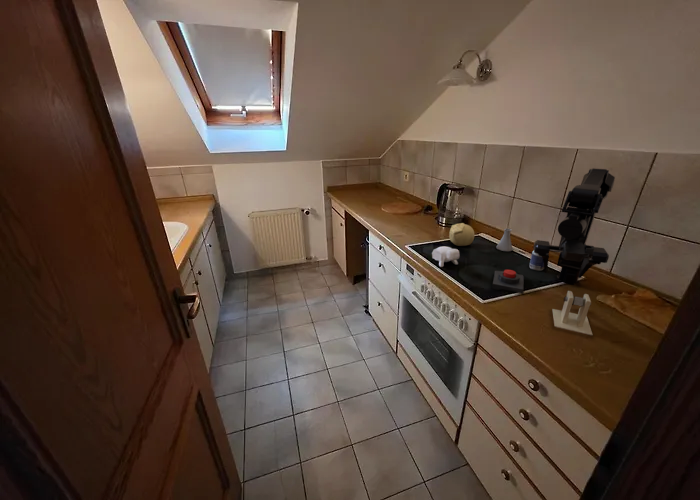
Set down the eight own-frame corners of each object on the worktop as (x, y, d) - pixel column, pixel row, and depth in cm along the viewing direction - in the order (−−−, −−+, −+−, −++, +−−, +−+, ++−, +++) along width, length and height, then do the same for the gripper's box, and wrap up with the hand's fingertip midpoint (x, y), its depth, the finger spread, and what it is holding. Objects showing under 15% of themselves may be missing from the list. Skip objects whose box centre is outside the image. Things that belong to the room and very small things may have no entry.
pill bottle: (544, 272, 121) (549, 250, 118) (528, 269, 124) (533, 247, 120) (543, 266, 126) (548, 245, 122) (529, 264, 128) (533, 243, 124)
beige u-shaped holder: (551, 311, 97) (559, 284, 93) (585, 318, 93) (595, 291, 89) (554, 328, 89) (562, 300, 85) (591, 337, 85) (602, 308, 81)
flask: (493, 249, 144) (497, 229, 140) (499, 244, 149) (502, 225, 145) (509, 253, 140) (513, 233, 136) (514, 248, 144) (518, 228, 141)
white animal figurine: (430, 266, 136) (448, 268, 121) (428, 247, 136) (446, 247, 121) (447, 263, 138) (466, 265, 123) (445, 245, 138) (464, 245, 123)
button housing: (494, 275, 120) (496, 266, 119) (522, 280, 116) (524, 271, 114) (491, 288, 111) (493, 279, 109) (522, 294, 106) (524, 285, 105)
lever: (561, 303, 99) (563, 294, 99) (573, 306, 97) (575, 296, 97) (571, 305, 87) (572, 294, 87) (584, 308, 86) (586, 297, 86)
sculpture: (447, 239, 158) (449, 219, 154) (471, 240, 156) (473, 220, 151) (449, 247, 148) (451, 226, 143) (474, 248, 145) (478, 227, 141)
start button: (503, 272, 114) (504, 268, 114) (515, 274, 113) (516, 270, 112) (502, 277, 111) (503, 273, 110) (515, 279, 109) (515, 275, 109)
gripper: (540, 234, 88) (530, 280, 94) (621, 243, 80) (603, 292, 86) (538, 223, 97) (528, 265, 103) (610, 230, 89) (595, 276, 95)
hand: (562, 274), depth 97 cm, fingers open, 9 cm apart
